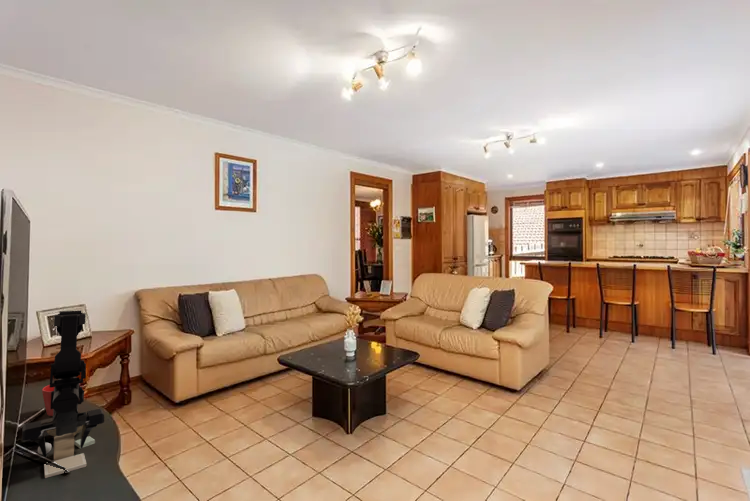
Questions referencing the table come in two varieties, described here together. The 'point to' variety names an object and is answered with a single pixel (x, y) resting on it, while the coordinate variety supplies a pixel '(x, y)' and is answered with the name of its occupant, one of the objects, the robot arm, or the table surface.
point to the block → (63, 446)
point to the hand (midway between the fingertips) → (63, 451)
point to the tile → (88, 442)
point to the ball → (48, 448)
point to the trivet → (65, 465)
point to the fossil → (53, 433)
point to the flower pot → (48, 399)
